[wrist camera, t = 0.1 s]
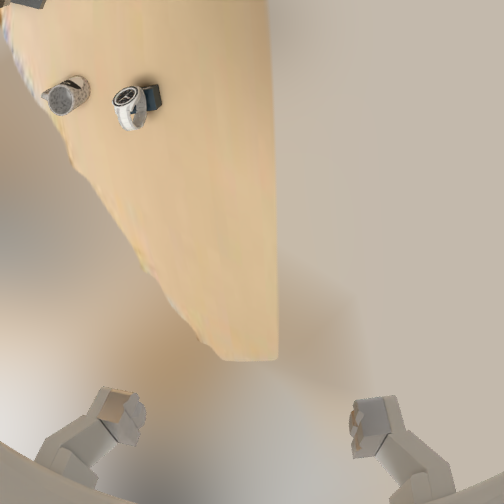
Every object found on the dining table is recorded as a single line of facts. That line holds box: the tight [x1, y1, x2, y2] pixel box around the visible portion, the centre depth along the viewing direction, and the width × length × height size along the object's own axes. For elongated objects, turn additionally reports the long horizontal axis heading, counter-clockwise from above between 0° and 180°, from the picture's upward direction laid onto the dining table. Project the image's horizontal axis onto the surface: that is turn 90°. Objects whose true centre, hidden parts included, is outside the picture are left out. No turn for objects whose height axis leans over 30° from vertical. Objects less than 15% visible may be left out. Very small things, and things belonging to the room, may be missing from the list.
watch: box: [112, 85, 162, 131], centre depth 46 cm, size 6×8×11 cm
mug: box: [41, 76, 90, 116], centre depth 45 cm, size 10×7×7 cm, turn 71°
